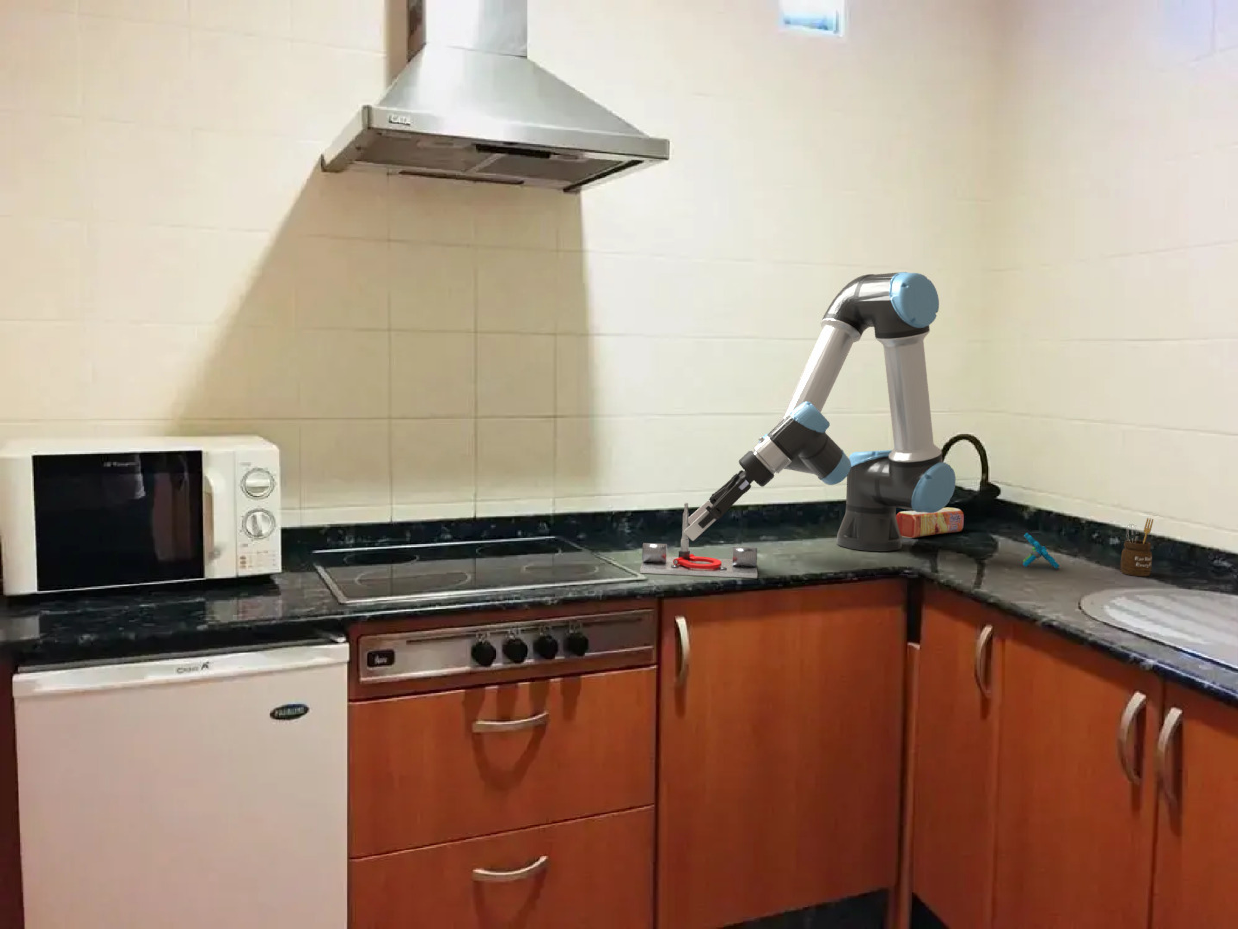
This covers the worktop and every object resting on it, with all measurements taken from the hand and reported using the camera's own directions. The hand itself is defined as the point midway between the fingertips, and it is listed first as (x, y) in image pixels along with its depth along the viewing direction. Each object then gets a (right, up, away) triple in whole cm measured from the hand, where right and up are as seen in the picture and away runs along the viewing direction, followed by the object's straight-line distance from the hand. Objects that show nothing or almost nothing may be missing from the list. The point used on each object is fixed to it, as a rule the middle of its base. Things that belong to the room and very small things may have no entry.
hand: (689, 530), depth 217 cm
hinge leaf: (+2, -8, +1) cm, 8 cm away
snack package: (+65, -4, +49) cm, 82 cm away
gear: (+78, -9, +10) cm, 80 cm away
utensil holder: (+97, -10, +5) cm, 98 cm away
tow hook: (+2, -7, -1) cm, 8 cm away
